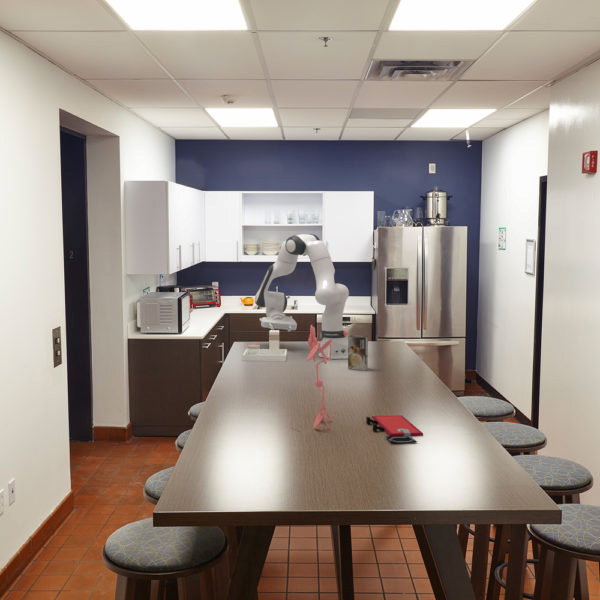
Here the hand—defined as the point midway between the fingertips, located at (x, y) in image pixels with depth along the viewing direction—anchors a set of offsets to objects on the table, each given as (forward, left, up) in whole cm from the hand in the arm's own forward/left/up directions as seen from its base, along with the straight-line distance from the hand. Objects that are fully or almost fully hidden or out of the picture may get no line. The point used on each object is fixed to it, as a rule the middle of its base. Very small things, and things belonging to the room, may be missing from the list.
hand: (281, 329), depth 363 cm
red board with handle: (-45, +141, -14) cm, 148 cm away
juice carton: (+3, +19, -12) cm, 23 cm away
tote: (+7, +20, -13) cm, 25 cm away
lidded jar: (+13, +22, -12) cm, 28 cm away
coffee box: (-40, +40, -13) cm, 58 cm away
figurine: (-17, +135, -13) cm, 137 cm away
